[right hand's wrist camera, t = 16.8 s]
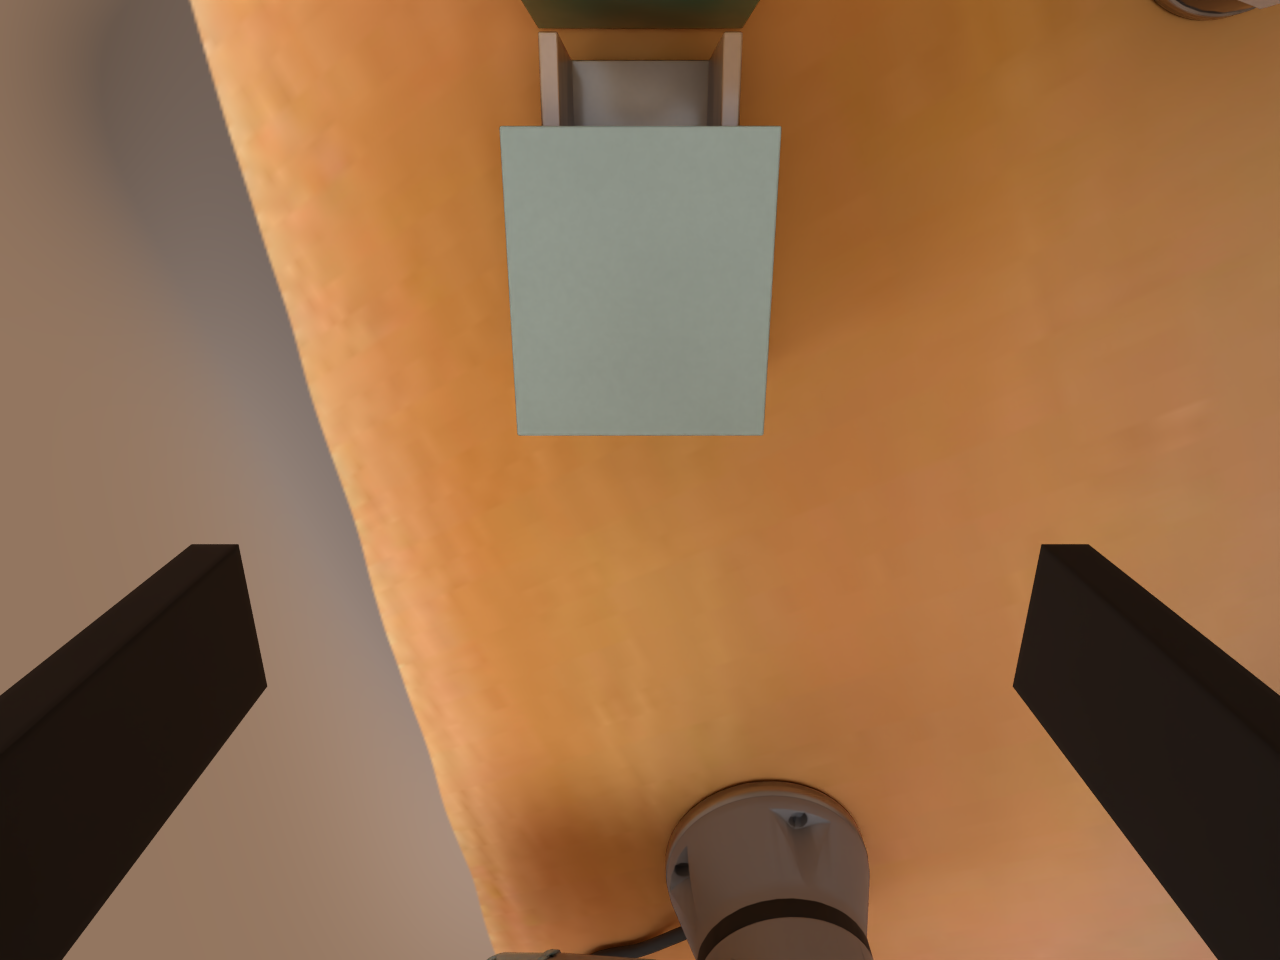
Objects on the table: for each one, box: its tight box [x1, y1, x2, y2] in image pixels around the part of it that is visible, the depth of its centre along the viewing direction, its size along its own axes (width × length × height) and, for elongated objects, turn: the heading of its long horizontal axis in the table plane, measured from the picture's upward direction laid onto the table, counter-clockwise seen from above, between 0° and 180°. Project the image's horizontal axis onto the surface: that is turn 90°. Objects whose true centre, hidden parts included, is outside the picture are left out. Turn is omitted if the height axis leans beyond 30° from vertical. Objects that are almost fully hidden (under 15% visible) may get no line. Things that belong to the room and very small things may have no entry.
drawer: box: [521, 0, 759, 126], centre depth 35 cm, size 18×10×9 cm, turn 0°
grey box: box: [500, 126, 781, 436], centre depth 39 cm, size 13×12×11 cm
